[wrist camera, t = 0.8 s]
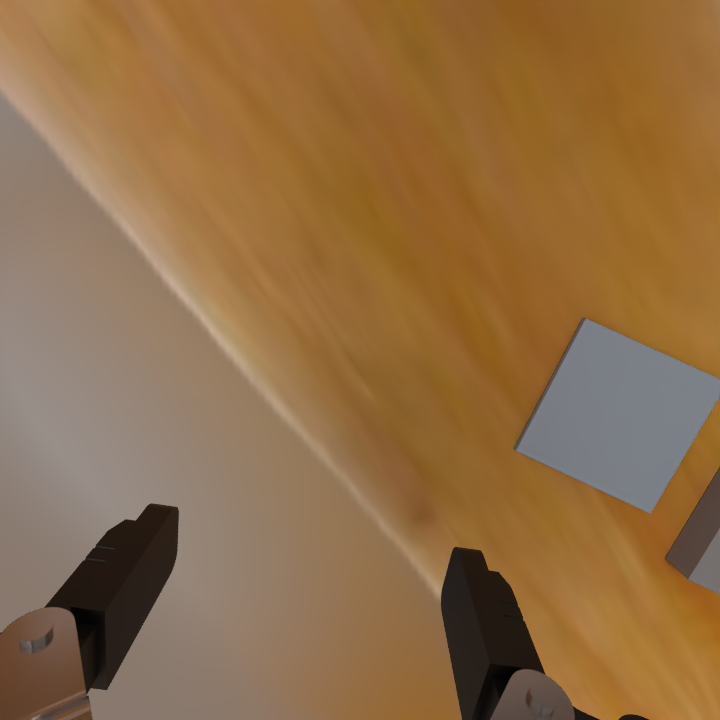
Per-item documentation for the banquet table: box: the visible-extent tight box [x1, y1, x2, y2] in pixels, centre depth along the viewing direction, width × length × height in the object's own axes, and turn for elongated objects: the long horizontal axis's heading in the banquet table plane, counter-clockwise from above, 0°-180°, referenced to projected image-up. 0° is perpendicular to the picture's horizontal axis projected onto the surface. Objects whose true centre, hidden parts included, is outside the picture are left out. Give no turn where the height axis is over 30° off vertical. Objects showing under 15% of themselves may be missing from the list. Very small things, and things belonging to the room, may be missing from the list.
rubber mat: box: [514, 318, 720, 514], centre depth 36 cm, size 12×12×1 cm
